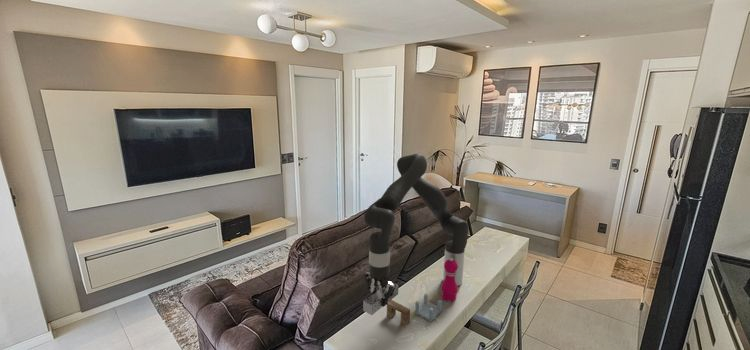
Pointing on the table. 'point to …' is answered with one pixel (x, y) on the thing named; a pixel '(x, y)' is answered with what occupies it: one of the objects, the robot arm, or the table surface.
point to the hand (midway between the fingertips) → (379, 302)
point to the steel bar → (376, 301)
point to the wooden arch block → (405, 311)
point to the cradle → (428, 309)
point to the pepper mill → (449, 280)
